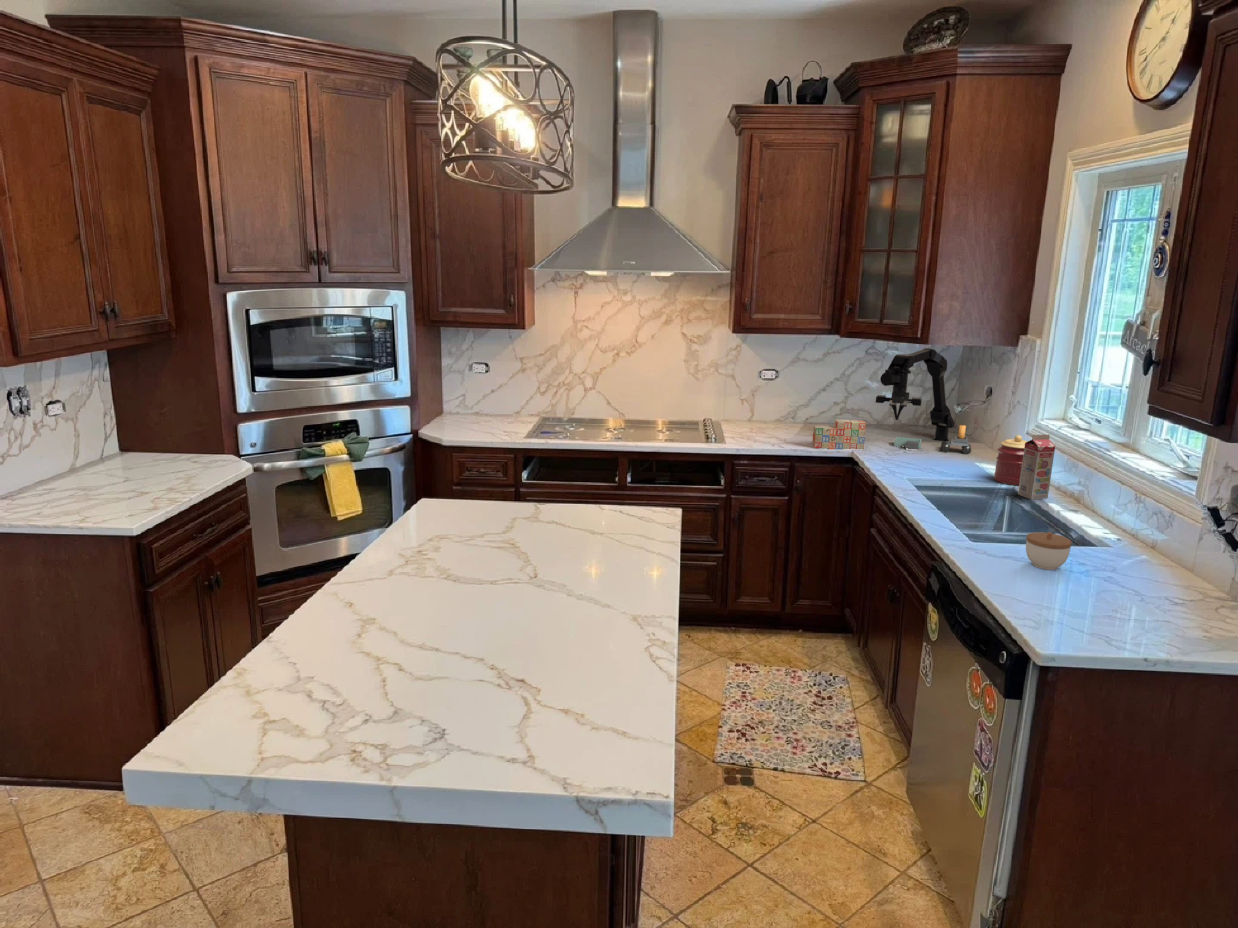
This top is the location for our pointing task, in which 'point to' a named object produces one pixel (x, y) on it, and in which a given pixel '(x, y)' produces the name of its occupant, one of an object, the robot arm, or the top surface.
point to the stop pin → (961, 431)
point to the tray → (902, 441)
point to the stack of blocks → (840, 435)
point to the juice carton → (1036, 467)
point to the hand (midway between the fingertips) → (896, 419)
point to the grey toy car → (956, 441)
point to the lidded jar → (1047, 550)
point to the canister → (1010, 461)
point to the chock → (912, 444)
